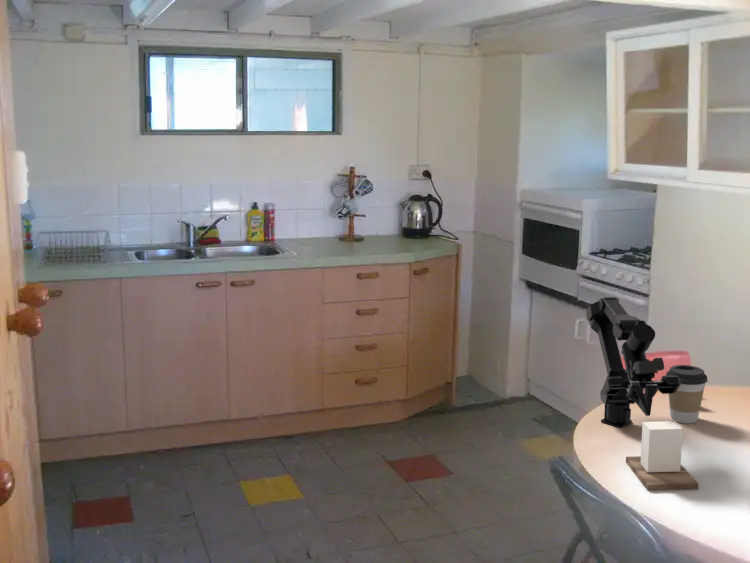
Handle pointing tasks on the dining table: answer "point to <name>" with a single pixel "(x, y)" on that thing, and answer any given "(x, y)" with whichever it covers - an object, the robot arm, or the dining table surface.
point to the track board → (661, 477)
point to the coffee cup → (687, 393)
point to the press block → (661, 446)
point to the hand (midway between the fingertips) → (648, 415)
